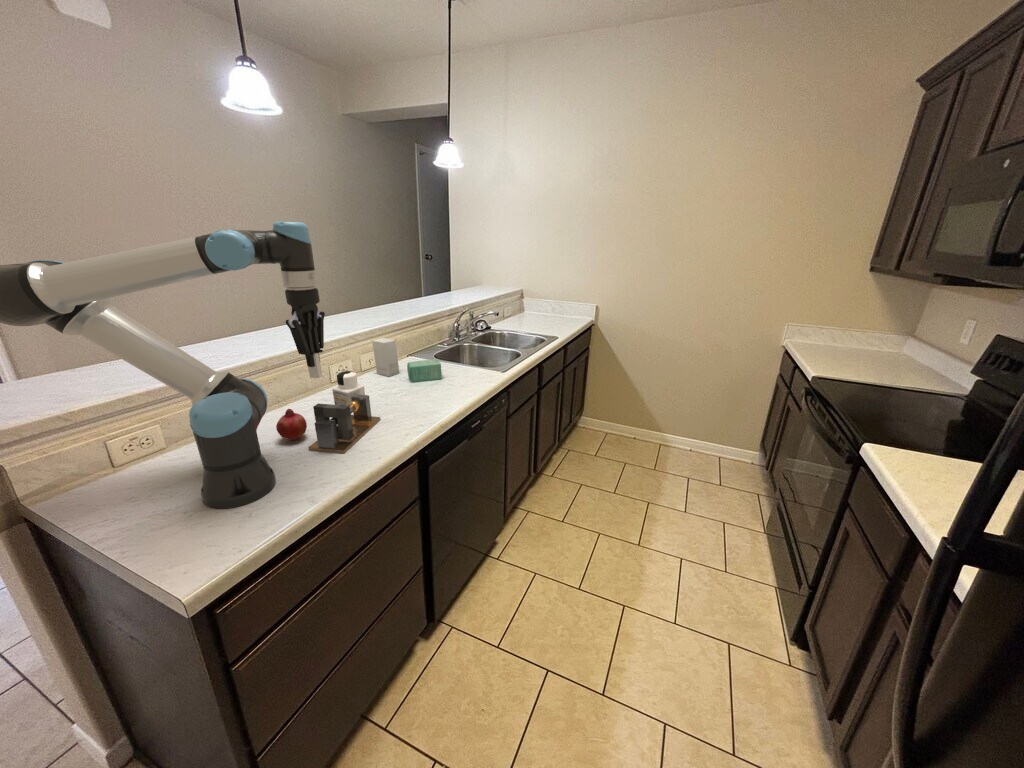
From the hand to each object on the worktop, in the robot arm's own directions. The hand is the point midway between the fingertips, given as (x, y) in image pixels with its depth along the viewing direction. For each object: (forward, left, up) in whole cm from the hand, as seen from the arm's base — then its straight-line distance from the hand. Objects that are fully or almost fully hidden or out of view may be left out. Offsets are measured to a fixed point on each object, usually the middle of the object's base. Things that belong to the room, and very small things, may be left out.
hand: (316, 376), depth 111 cm
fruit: (+5, +14, -23) cm, 27 cm away
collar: (+5, 0, -21) cm, 21 cm away
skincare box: (+68, +13, -23) cm, 73 cm away
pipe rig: (+11, 0, -23) cm, 25 cm away
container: (+31, +10, -23) cm, 40 cm away
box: (+65, -5, -23) cm, 69 cm away
